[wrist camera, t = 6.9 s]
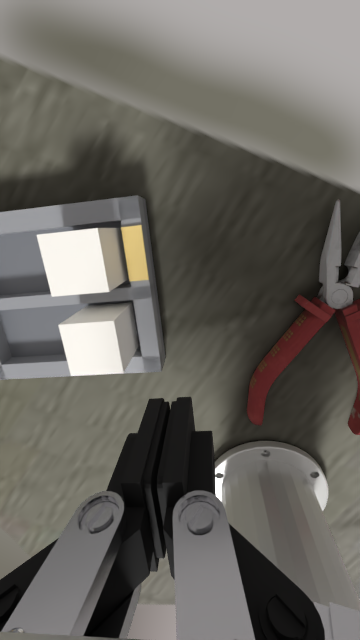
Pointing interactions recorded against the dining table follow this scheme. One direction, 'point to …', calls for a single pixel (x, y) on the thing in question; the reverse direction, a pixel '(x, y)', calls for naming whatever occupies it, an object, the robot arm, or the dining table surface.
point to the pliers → (317, 322)
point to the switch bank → (48, 312)
